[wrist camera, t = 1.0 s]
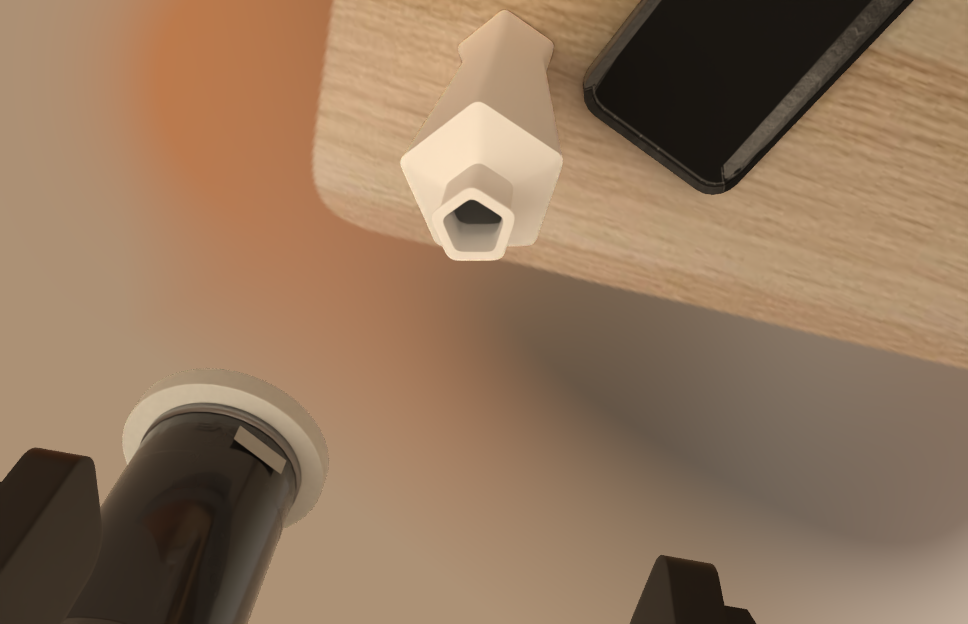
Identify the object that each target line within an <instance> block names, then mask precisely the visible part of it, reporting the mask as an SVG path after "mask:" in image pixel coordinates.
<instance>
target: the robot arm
mask: <svg viewBox="0 0 968 624" xmlns="http://www.w3.org/2000/svg"><path fill="white" fill-rule="evenodd" d="M300 486H301V467H300V463H299V461H298V458H297V456H296V454H295V452H294V450H293V448H292V447H291V445H290V444H289V443H288V441H287V440H286V439H285V438H284V437H283V436H282V435H281V434H280V433H279V432H278V431H277V430H276V429H275V428H273V427H272V426H271V425H270V424H268V423H267V422H265V421H264V420H262V419H260V418H258V417H257V416H255V415H253V414H251V413H248V412H246V411H243V410H241V409H238V408H235V407H231V406H227V405H222V404H215V403H191V404H186V405H181V406H178V407H175V408H172V409H170V410H168V411H166V412H164V413H163V414H161V415H160V416H159V417H158V418H156V419H155V420H154V421H153V423H152V424H151V425H150V427H149V428H148V430H147V431H146V433H145V434H144V436H143V438H142V440H141V443H140V446H139V447H138V449H137V451H136V452H135V454H134V455H133V457H132V459H131V460H130V462H129V463H128V465H127V467H126V468H125V470H124V471H123V472H122V474H121V475H120V477H119V479H118V480H117V482H116V483H115V485H114V487H113V488H112V490H111V491H110V493H109V494H108V496H107V498H106V499H105V501H104V503H103V504H102V506H101V507H100V504H99V496H98V489H97V480H96V471H95V465H94V462H93V460H92V459H91V458H90V457H87V456H82V455H76V454H70V453H64V452H59V451H52V450H47V449H42V448H32V449H30V450H28V451H27V452H26V453H25V454H24V455H23V456H22V457H21V458H20V460H19V461H18V462H17V463H16V465H15V466H14V467H13V468H12V470H11V471H10V472H9V473H8V475H7V476H6V477H5V478H4V480H3V481H2V482H0V624H248V621H249V618H250V615H251V613H252V610H253V607H254V605H255V602H256V599H257V597H258V594H259V591H260V589H261V586H262V583H263V581H264V578H265V575H266V573H267V570H268V567H269V564H270V562H271V559H272V557H273V554H274V551H275V549H276V546H277V543H278V541H279V538H280V535H281V533H282V530H283V528H284V525H285V522H286V520H287V517H288V514H289V511H290V509H291V507H292V505H293V504H294V502H295V500H296V497H297V495H298V492H299V489H300ZM630 624H756V623H755V621H754V619H753V618H752V616H751V615H750V613H749V612H748V610H747V609H742V608H735V607H730V606H724V601H723V596H722V591H721V586H720V581H719V576H718V572H717V570H716V568H715V567H714V565H713V564H710V563H704V562H698V561H693V560H687V559H681V558H675V557H670V556H664V555H660V556H659V557H658V558H657V560H656V562H655V564H654V566H653V568H652V571H651V573H650V576H649V578H648V580H647V583H646V585H645V588H644V590H643V592H642V595H641V597H640V600H639V602H638V604H637V607H636V609H635V612H634V614H633V617H632V619H631V622H630Z"/></svg>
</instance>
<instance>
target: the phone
mask: <svg viewBox="0 0 968 624" xmlns="http://www.w3.org/2000/svg"><path fill="white" fill-rule="evenodd" d="M912 1H913V0H641V1H640V3H639V4H638V5H637V7H636V8H635V9H634V10H633V12H632V13H631V14H630V16H629V17H628V18H627V19H626V21H625V22H624V23H623V25H622V26H621V27H620V28H619V30H618V31H617V32H616V34H615V35H614V36H613V37H612V39H611V40H610V41H609V43H608V44H607V45H606V47H605V48H604V49H603V50H602V52H601V53H600V54H599V56H598V57H597V58H596V59H595V61H594V62H593V63H592V65H591V66H590V67H589V69H588V71H587V72H586V74H585V77H584V82H583V91H584V100H585V103H586V105H587V107H588V109H589V110H590V111H591V112H592V114H593V115H594V116H596V117H597V118H599V119H600V120H601V121H603V122H604V123H605V124H607V125H608V126H610V127H611V128H612V129H614V130H615V131H616V132H618V133H619V134H621V135H622V136H623V137H625V138H626V139H627V140H629V141H630V142H632V143H633V144H634V145H636V146H637V147H638V148H640V149H641V150H643V151H644V152H645V153H647V154H648V155H649V156H651V157H652V158H654V159H655V160H656V161H658V162H659V163H660V164H662V165H663V166H665V167H666V168H667V169H669V170H670V171H671V172H673V173H674V174H676V175H677V176H678V177H680V178H681V179H682V180H684V181H685V182H687V183H688V184H689V185H691V186H692V187H693V188H695V189H696V190H698V191H700V192H702V193H705V194H711V195H714V194H721V193H724V192H726V191H728V190H730V189H731V188H733V187H734V186H735V185H737V184H738V182H739V181H740V180H741V179H742V178H743V177H744V176H745V175H746V174H747V173H748V172H749V171H750V170H751V169H752V168H753V167H754V166H755V165H756V164H757V163H758V162H759V161H760V160H761V159H762V157H763V156H764V155H765V154H766V153H767V152H768V151H769V150H770V149H771V148H772V147H773V146H774V145H775V144H776V143H777V142H778V141H779V140H780V139H781V138H782V137H783V136H784V135H785V134H786V133H787V131H788V130H789V129H790V128H791V127H792V126H793V125H794V124H795V123H796V122H797V121H798V120H799V119H800V118H801V117H802V116H803V115H804V114H805V113H806V112H807V111H808V110H809V109H810V108H811V106H812V105H813V104H814V103H815V102H816V101H817V100H818V99H819V98H820V97H821V96H822V95H823V94H824V93H825V92H826V91H827V90H828V89H829V88H830V87H831V86H832V85H833V84H834V83H835V81H836V80H837V79H838V78H839V77H840V76H841V75H842V74H843V73H844V72H845V71H846V70H847V69H848V68H849V67H850V66H851V65H852V64H853V63H854V62H855V61H856V60H857V59H858V58H859V56H860V55H861V54H862V53H863V52H864V51H865V50H866V49H867V48H868V47H869V46H870V45H871V44H872V43H873V42H874V41H875V40H876V39H877V38H878V37H879V36H880V35H881V34H882V33H883V31H884V30H885V29H886V28H887V27H888V26H889V25H890V24H891V23H892V22H893V21H894V20H895V19H896V18H897V17H898V16H899V15H900V14H901V13H902V12H903V11H904V10H905V9H906V8H907V6H908V5H909V4H910V3H911V2H912Z"/></svg>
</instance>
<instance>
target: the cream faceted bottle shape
mask: <svg viewBox="0 0 968 624" xmlns="http://www.w3.org/2000/svg"><path fill="white" fill-rule="evenodd" d="M553 50H554V45H553V43H552V42H551V41H550V40H549V39H548V38H546V37H545V36H544V35H542V34H541V33H539V32H538V31H537V30H535V29H534V28H532V27H531V26H529V25H528V24H527V23H525V22H524V21H522V20H521V19H520V18H518V17H517V16H515V15H514V14H513V13H511V12H510V11H507V10H502V11H500V12H498V13H497V14H496V15H495V16H494V17H492V18H491V19H490V20H489V21H487V22H486V23H485V24H484V25H482V26H481V27H480V28H479V29H477V30H476V31H475V32H474V33H472V34H471V35H470V36H469V37H467V38H466V39H465V40H464V41H462V42H461V43H460V45H459V46H458V52H459V55H460V57H461V60H462V64H461V65H460V67H459V68H458V70H457V72H456V73H455V75H454V76H453V78H452V79H451V81H450V83H449V84H448V86H447V87H446V89H445V91H444V92H443V94H442V95H441V97H440V98H439V100H438V102H437V103H436V105H435V106H434V108H433V109H432V111H431V113H430V114H429V116H428V117H427V119H426V120H425V122H424V124H423V125H422V127H421V128H420V130H419V131H418V133H417V135H416V136H415V138H414V139H413V141H412V142H411V144H410V146H409V147H408V149H407V150H406V152H405V153H404V155H403V157H402V158H401V162H400V164H401V168H402V170H403V173H404V175H405V177H406V179H407V181H408V184H409V186H410V188H411V190H412V193H413V195H414V197H415V199H416V201H417V204H418V206H419V208H420V210H421V212H422V215H423V217H424V219H425V221H426V224H427V226H428V228H429V230H430V232H431V235H432V237H433V239H434V241H435V242H436V243H437V244H438V245H440V246H443V248H444V251H445V252H446V254H447V255H448V257H449V258H451V259H452V260H458V261H461V260H462V261H466V260H467V261H473V260H474V261H477V260H481V261H482V260H498V259H500V258H501V257H503V255H504V253H505V251H506V248H507V246H529V245H532V244H533V243H535V241H536V239H537V237H538V234H539V231H540V228H541V225H542V223H543V220H544V217H545V214H546V211H547V208H548V205H549V203H550V200H551V197H552V194H553V191H554V188H555V186H556V183H557V180H558V177H559V174H560V171H561V168H562V165H563V158H562V152H561V147H560V142H559V137H558V132H557V126H556V121H555V116H554V111H553V106H552V100H551V95H550V90H549V85H548V80H547V75H546V72H547V69H548V66H549V63H550V59H551V56H552V53H553Z"/></svg>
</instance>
